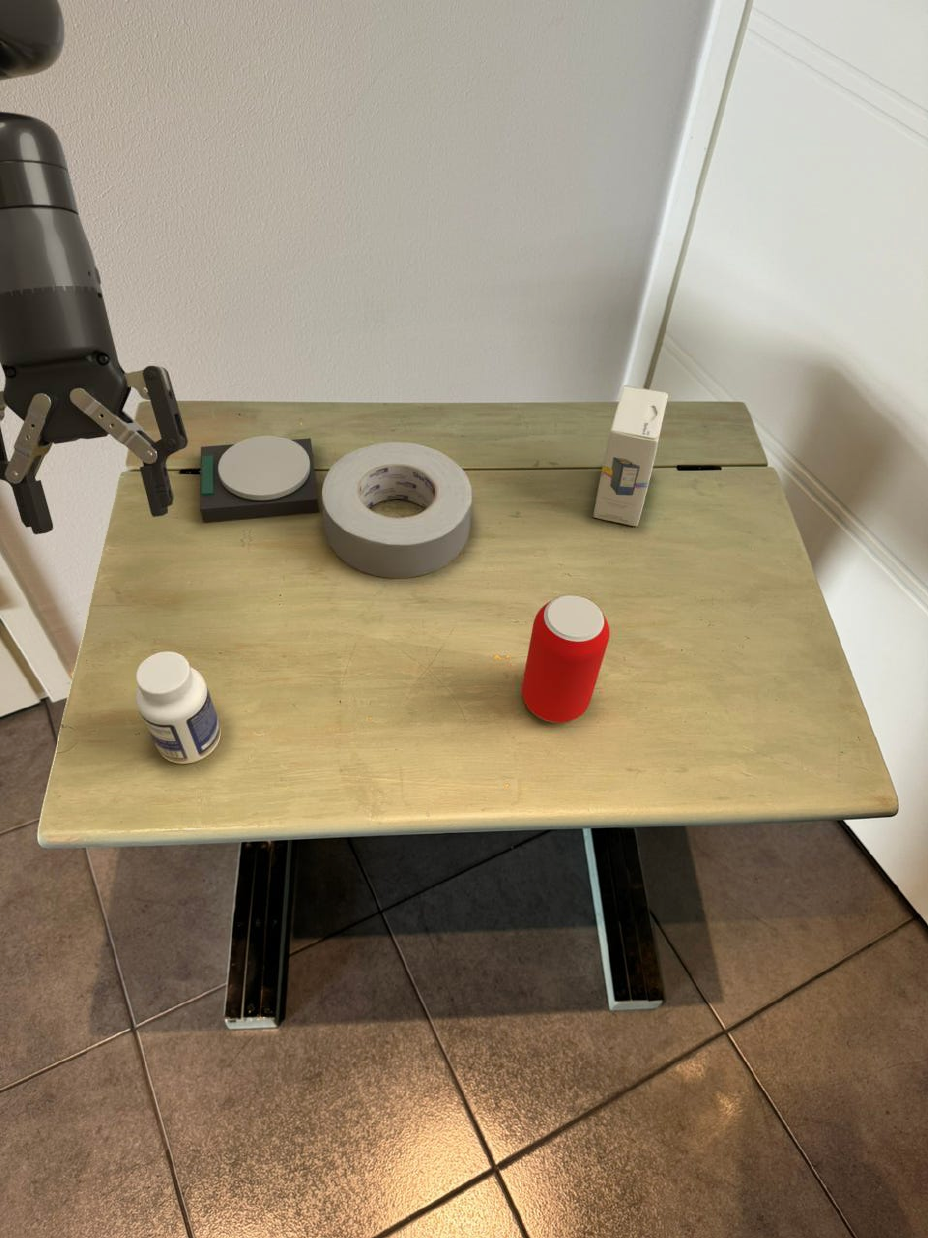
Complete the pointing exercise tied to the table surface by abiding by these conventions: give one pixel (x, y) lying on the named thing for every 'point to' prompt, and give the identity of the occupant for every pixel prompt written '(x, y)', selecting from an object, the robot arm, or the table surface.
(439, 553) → the tape roll
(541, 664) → the beverage can
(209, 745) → the pill bottle
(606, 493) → the ink box
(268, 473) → the scale
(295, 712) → the table surface
